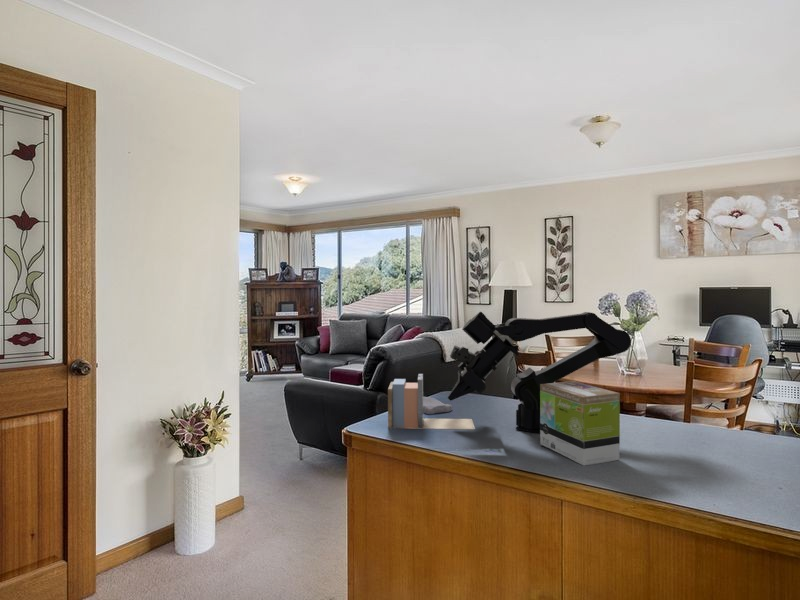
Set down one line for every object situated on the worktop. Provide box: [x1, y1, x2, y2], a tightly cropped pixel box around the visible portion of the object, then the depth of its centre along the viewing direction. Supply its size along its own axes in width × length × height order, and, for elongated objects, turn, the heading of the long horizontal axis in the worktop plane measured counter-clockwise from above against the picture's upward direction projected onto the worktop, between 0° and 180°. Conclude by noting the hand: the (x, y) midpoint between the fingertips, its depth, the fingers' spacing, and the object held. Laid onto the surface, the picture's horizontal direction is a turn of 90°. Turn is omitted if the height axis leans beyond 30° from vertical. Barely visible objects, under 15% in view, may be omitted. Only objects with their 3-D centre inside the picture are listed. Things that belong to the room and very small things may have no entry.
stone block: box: [423, 396, 453, 415], centre depth 149 cm, size 12×5×10 cm
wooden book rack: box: [387, 381, 476, 430], centre depth 132 cm, size 22×10×11 cm, turn 86°
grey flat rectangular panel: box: [417, 373, 424, 427], centre depth 132 cm, size 1×9×12 cm, turn 177°
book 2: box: [404, 382, 418, 427], centre depth 133 cm, size 4×8×10 cm, turn 177°
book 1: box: [392, 378, 407, 427], centre depth 133 cm, size 3×8×11 cm, turn 177°
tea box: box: [539, 380, 621, 467], centre depth 112 cm, size 15×10×15 cm, turn 21°
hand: (449, 399), depth 132 cm, fingers closed
